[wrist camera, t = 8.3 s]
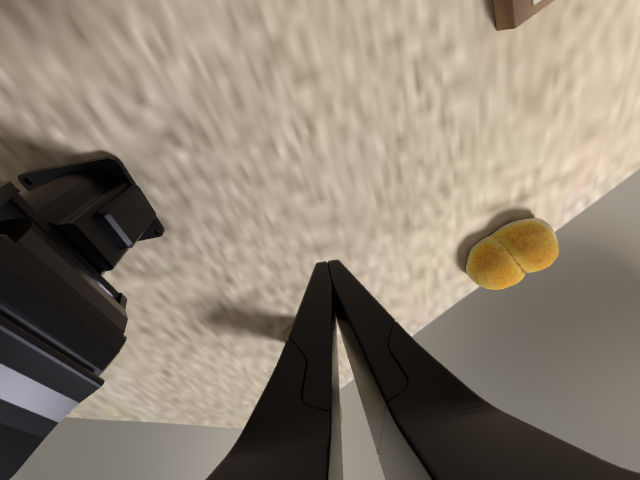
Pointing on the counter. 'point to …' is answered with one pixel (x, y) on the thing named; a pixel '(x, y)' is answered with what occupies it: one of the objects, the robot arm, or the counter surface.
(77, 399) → the robot arm
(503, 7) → the board
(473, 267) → the bread roll
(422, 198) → the counter surface
